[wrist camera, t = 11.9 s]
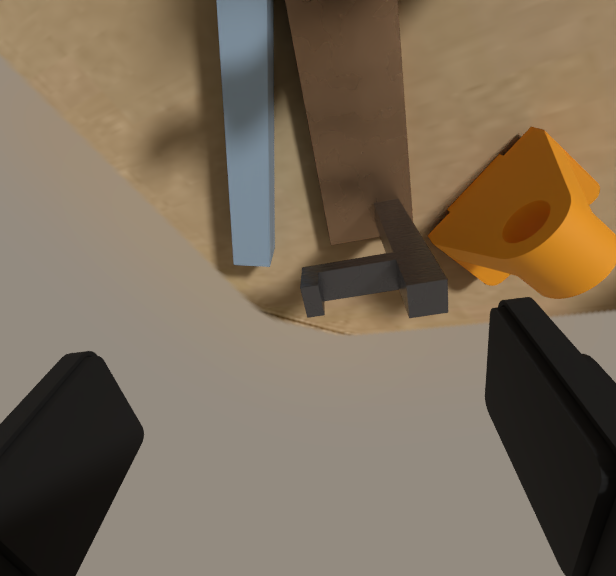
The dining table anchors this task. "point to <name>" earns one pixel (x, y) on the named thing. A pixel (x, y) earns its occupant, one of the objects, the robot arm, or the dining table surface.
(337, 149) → the stand
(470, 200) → the bracket
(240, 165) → the rail
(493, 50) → the dining table surface
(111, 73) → the dining table surface
